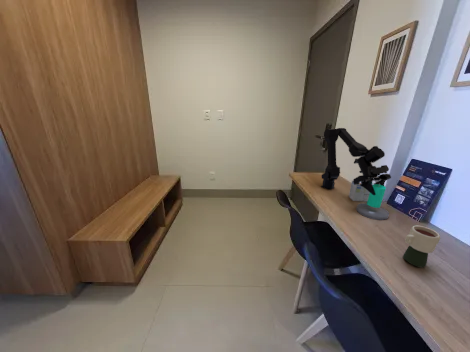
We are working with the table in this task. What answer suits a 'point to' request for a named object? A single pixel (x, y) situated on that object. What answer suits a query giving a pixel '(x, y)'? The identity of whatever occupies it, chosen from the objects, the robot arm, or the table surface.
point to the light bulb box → (358, 192)
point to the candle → (376, 196)
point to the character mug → (420, 245)
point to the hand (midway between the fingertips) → (379, 194)
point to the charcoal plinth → (372, 212)
